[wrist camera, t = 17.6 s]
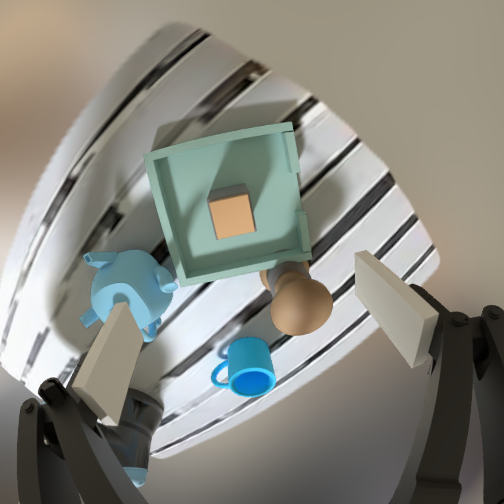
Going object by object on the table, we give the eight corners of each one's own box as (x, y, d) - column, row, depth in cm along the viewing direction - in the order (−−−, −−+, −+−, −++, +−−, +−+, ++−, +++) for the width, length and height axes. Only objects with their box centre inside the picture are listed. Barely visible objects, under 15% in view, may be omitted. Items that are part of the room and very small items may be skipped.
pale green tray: (183, 276, 43) (181, 287, 40) (149, 153, 35) (143, 154, 32) (305, 250, 43) (312, 259, 40) (285, 123, 36) (291, 121, 32)
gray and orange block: (209, 190, 37) (206, 201, 30) (244, 183, 37) (249, 191, 30) (217, 223, 39) (216, 242, 32) (251, 216, 39) (257, 233, 32)
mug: (260, 331, 48) (267, 361, 41) (274, 358, 51) (281, 388, 44) (202, 350, 49) (200, 381, 41) (220, 376, 52) (220, 406, 44)
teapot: (109, 221, 38) (76, 247, 28) (188, 251, 41) (177, 287, 31) (96, 298, 43) (70, 336, 32) (164, 324, 46) (152, 368, 36)
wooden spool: (264, 295, 46) (276, 341, 34) (255, 252, 42) (266, 291, 31) (309, 285, 46) (333, 326, 35) (304, 242, 43) (331, 275, 32)
